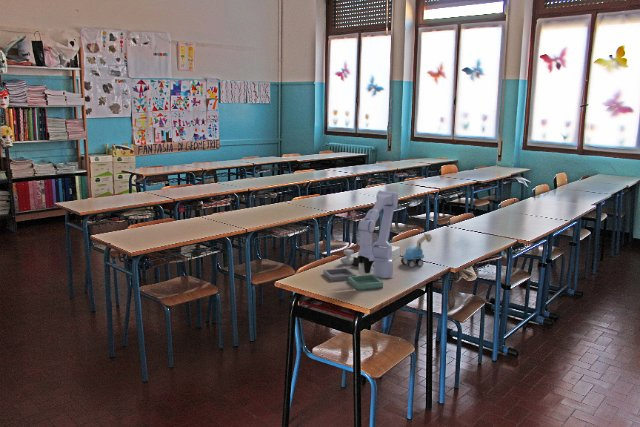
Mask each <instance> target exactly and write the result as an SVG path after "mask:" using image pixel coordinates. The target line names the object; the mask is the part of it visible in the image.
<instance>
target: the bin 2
mask: <svg viewBox="0 0 640 427" xmlns="http://www.w3.org/2000/svg"><path fill="white" fill-rule="evenodd" d="M347 282H349V283H350V284H351V285H352V286H353V287H354V288H355V290H356V291H358V292H359V291H360V292H361V291H369V290H379V289H384V281H382V280H381V279H379V277H376V276H374V275H373V274H371V275H356V276H352V277H348V280H347Z"/></svg>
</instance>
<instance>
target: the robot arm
mask: <svg viewBox="0 0 640 427" xmlns="http://www.w3.org/2000/svg"><path fill="white" fill-rule="evenodd" d="M375 200H376V202H375V203H374V206H373V208H371V209H369V210H368V212H367V213H366V215H365V217H363V218H362V219H361V220H359V221H358V226H357V229H358V234H359V249H358V253H357V255H356V256H357V257H358V259H359V262H360V263H364V269H365V273H370V269H371V266H372V264H373V262H374V270H373V274H372V275H374V276H375V277H377V278H381V279H390V278H391V279H392V278H394V274H393V273H394V263H393V260H391V259H390V258H391V256H392V246H393V245H391V244H390V242H389V241H388V240H389V236H390V231H391V227H392V221H393V217H394V216H393V215H394V210H397V207H398V202H399V194H398V192H397V191H388V190H387V191H386V190H378V192H377V193H376V199H375ZM382 209H383V213H382V219H381V223H380V228H379V235H378V238H377V240H376V241H374V242H373V232H374V230H375V227H376V222H377V221H378V219H379V217H380V212H381V211H382ZM379 246H381V247H379ZM384 247H387V248H384ZM358 255H359V256H358Z"/></svg>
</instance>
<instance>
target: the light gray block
mask: <svg viewBox="0 0 640 427" xmlns="http://www.w3.org/2000/svg"><path fill="white" fill-rule="evenodd" d="M358 274H359V276H363V275H372V270H371V269H370V273H365V269H364V263H359V267H358Z"/></svg>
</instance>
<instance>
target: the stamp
mask: <svg viewBox="0 0 640 427" xmlns="http://www.w3.org/2000/svg"><path fill="white" fill-rule="evenodd" d="M354 251H355V250H353V249H349V248H348V249H344V250H343V254H344V255H345V256H344V257H342V258H340V262H341V264H342V265H347V266H351V265H353V257H354V256H353V257H352V255H353V254H354Z"/></svg>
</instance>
